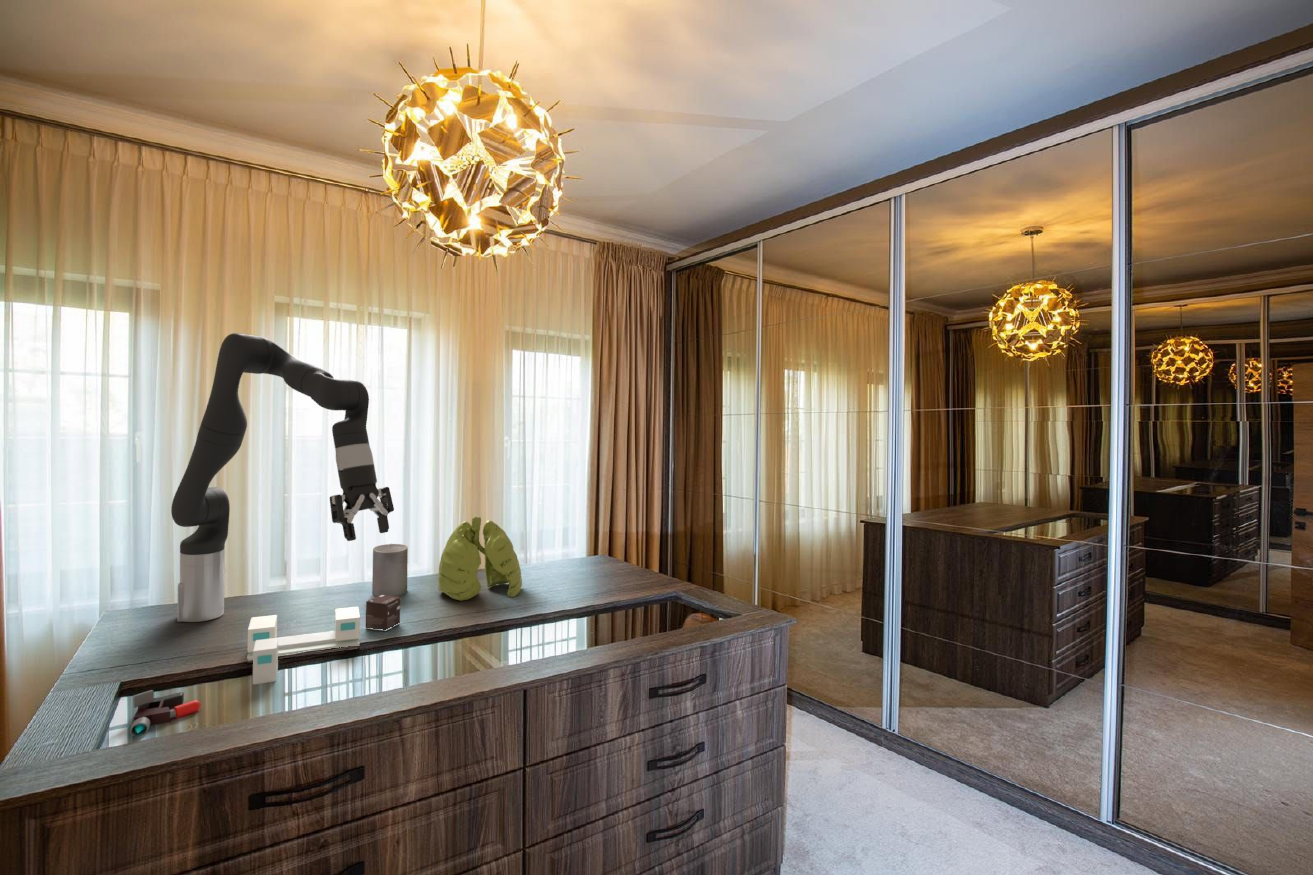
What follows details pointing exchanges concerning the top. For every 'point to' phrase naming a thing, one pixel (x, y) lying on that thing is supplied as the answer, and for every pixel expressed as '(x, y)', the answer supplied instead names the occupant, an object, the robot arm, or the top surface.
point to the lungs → (478, 561)
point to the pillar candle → (390, 570)
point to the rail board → (341, 637)
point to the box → (382, 612)
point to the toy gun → (159, 709)
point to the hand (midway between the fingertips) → (368, 536)
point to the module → (265, 661)
